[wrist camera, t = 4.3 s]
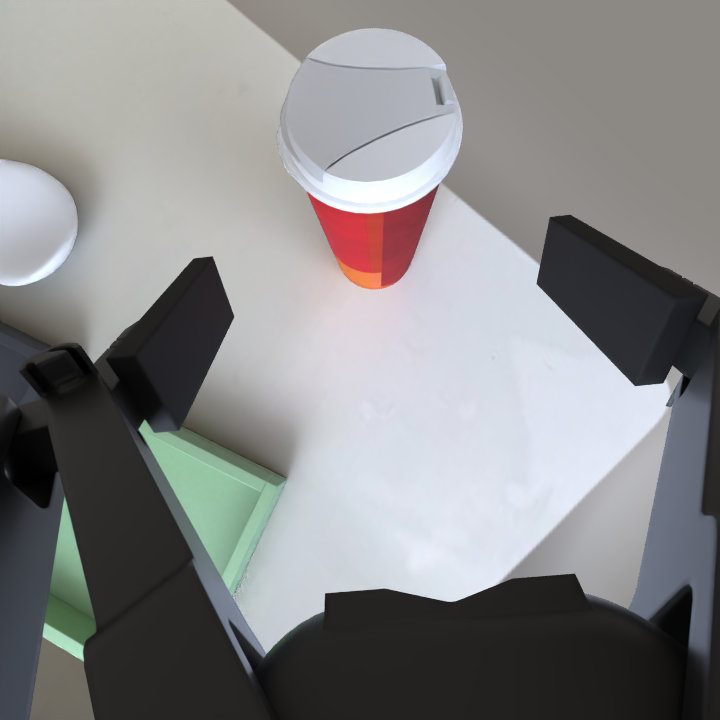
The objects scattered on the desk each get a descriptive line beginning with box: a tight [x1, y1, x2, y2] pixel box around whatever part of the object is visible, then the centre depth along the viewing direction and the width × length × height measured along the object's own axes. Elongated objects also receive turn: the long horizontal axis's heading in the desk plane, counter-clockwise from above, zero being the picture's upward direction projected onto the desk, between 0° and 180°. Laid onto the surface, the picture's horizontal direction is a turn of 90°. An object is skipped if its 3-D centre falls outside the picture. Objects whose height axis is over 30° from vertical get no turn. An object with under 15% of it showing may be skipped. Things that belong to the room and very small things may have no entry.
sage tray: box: [42, 420, 287, 661], centre depth 25 cm, size 15×15×3 cm
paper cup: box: [277, 28, 463, 289], centre depth 21 cm, size 8×8×14 cm
